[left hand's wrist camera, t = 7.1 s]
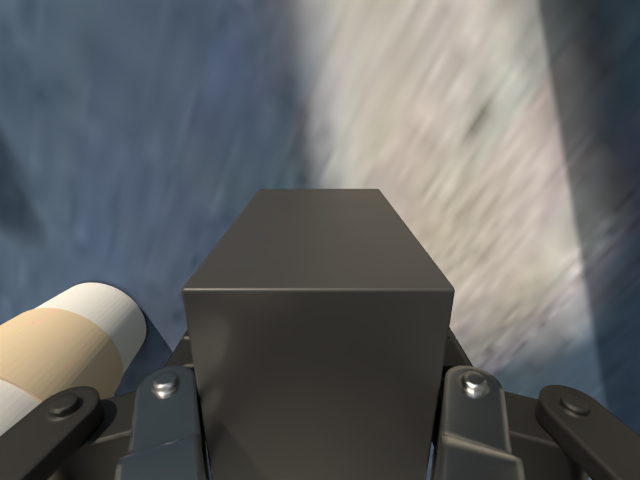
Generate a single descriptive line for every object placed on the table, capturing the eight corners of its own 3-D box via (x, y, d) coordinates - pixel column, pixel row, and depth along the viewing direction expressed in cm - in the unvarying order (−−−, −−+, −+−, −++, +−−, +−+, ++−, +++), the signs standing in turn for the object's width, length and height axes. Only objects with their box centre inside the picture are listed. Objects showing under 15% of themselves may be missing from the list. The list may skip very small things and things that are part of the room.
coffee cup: (61, 372, 28) (-202, 635, 14) (23, 271, 25) (-365, 477, 11) (171, 368, 28) (20, 629, 14) (147, 266, 25) (-80, 469, 11)
